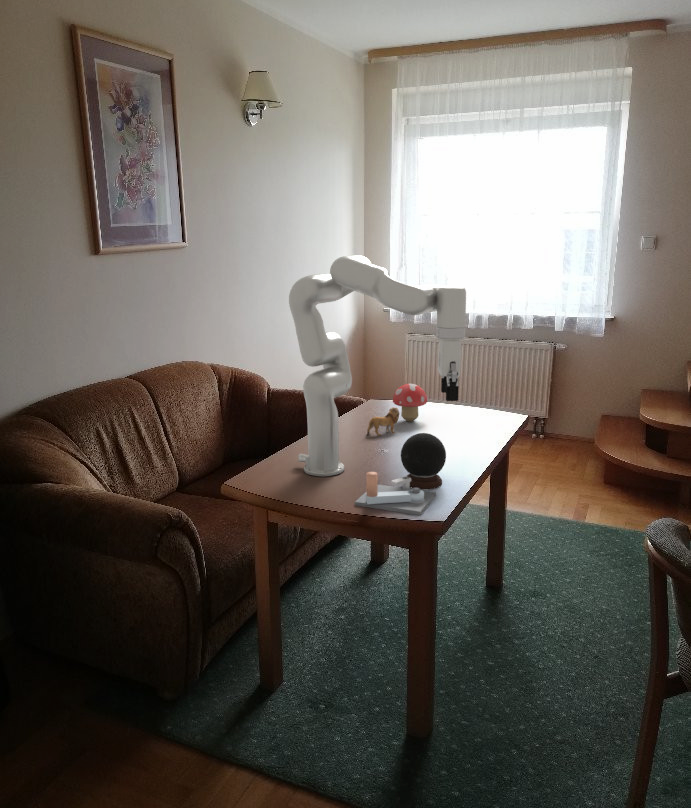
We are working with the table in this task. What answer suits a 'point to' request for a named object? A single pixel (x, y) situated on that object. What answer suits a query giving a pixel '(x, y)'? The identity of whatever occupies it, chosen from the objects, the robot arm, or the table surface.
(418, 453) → the black stone ball
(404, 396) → the decorative mushroom
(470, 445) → the table surface
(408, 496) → the white lever handle
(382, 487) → the pintle board
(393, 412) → the lion figurine
